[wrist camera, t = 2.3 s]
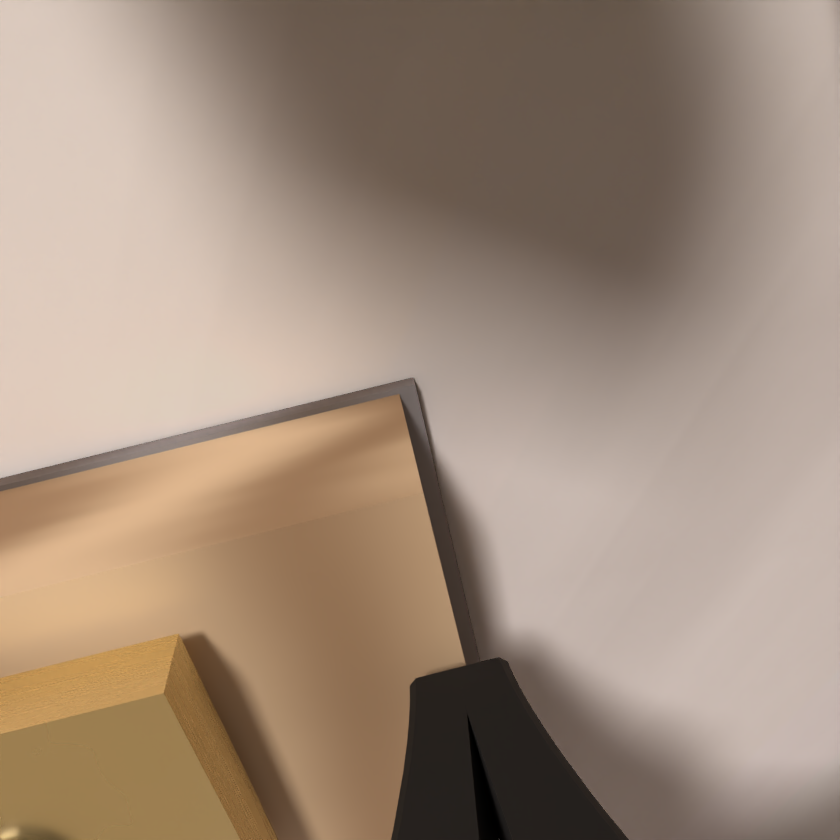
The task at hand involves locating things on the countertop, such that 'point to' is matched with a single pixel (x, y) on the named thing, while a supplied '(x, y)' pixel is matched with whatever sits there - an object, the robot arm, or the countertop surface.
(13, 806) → the lever cap
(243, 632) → the body
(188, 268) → the countertop surface
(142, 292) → the countertop surface
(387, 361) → the countertop surface
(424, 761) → the robot arm
